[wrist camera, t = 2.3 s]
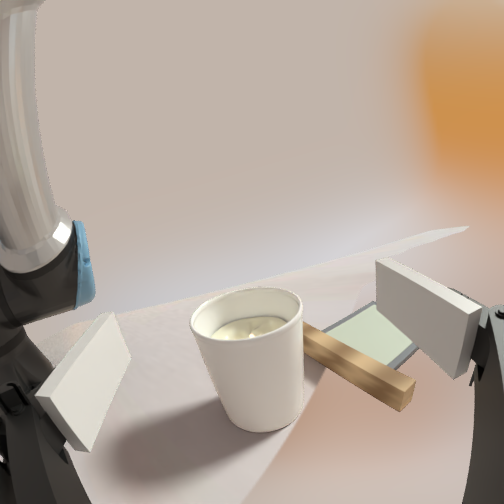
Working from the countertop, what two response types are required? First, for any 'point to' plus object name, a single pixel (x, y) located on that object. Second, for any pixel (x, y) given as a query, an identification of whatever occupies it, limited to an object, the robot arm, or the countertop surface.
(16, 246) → the robot arm
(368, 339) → the square tile
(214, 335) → the candle holder
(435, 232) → the countertop surface
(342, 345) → the brown wooden bar
